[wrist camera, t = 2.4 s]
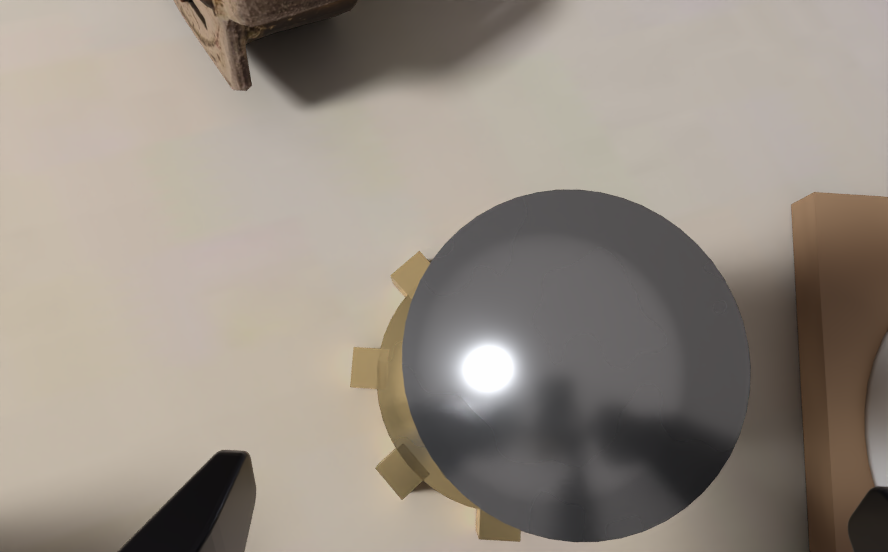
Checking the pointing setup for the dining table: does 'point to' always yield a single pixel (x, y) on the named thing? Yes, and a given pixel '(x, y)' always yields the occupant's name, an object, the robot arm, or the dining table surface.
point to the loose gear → (561, 369)
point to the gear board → (841, 355)
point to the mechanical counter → (249, 27)
